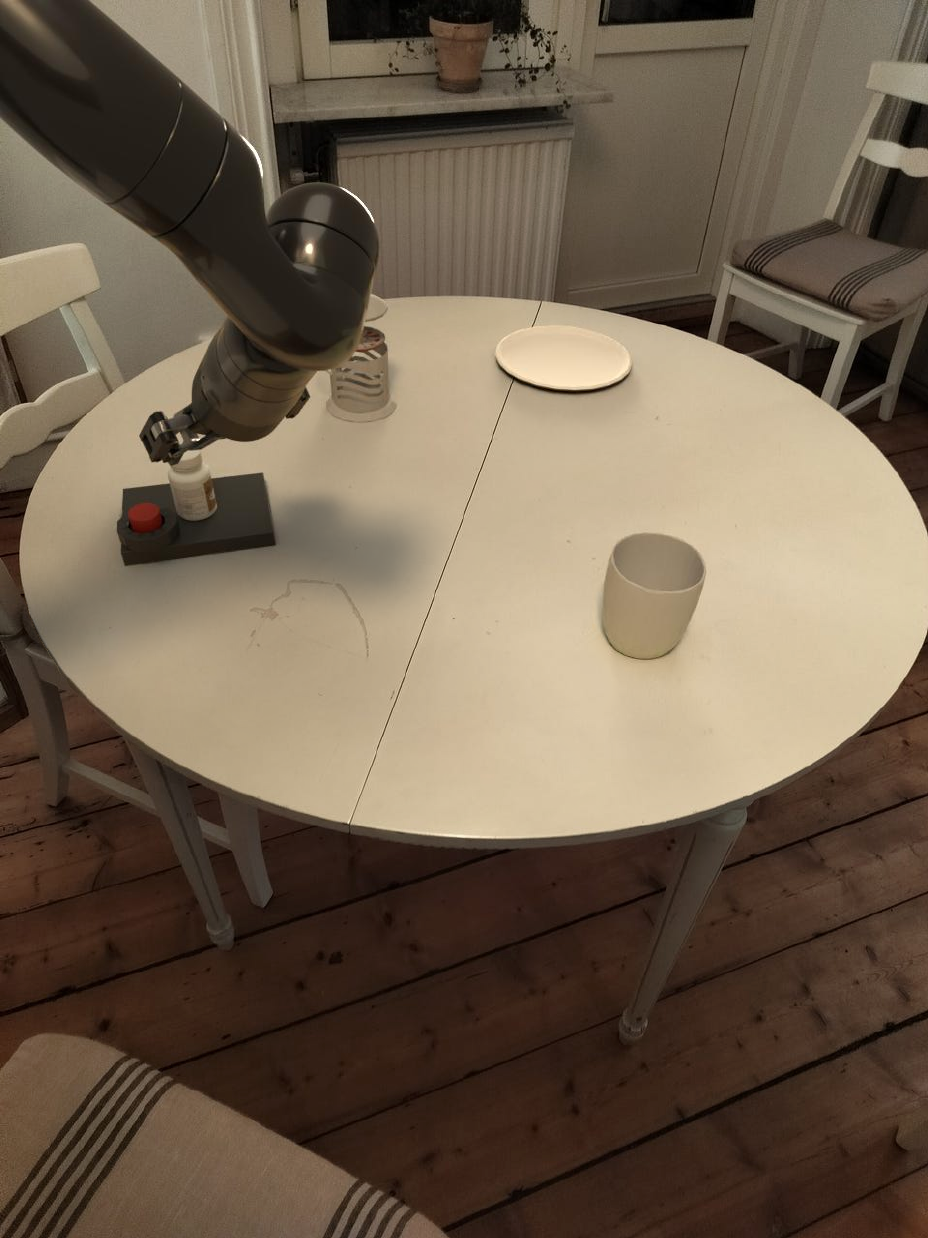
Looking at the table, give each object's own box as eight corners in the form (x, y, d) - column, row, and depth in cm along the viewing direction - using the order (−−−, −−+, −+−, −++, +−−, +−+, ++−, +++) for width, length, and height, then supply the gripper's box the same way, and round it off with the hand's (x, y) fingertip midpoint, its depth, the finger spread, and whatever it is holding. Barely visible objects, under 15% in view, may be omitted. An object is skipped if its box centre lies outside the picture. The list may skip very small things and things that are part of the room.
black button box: (124, 569, 89) (115, 543, 86) (126, 501, 97) (118, 476, 95) (276, 548, 92) (272, 522, 90) (265, 484, 101) (261, 459, 98)
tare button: (131, 535, 88) (127, 522, 86) (131, 518, 90) (127, 504, 89) (163, 531, 88) (159, 518, 87) (162, 514, 91) (159, 501, 89)
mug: (696, 665, 81) (722, 588, 74) (608, 673, 80) (626, 596, 73) (654, 580, 90) (674, 505, 83) (575, 587, 89) (588, 511, 82)
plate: (506, 325, 135) (507, 317, 135) (634, 340, 133) (636, 333, 132) (483, 385, 121) (483, 377, 120) (627, 404, 118) (628, 396, 117)
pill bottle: (222, 515, 93) (210, 456, 88) (183, 526, 91) (168, 466, 86) (210, 495, 96) (198, 436, 90) (172, 505, 94) (157, 445, 89)
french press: (394, 423, 112) (389, 229, 95) (307, 419, 112) (287, 224, 95) (399, 387, 119) (395, 201, 102) (318, 384, 119) (301, 197, 102)
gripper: (310, 312, 68) (262, 384, 82) (140, 356, 61) (120, 426, 75) (349, 398, 68) (294, 454, 83) (185, 451, 62) (156, 502, 76)
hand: (211, 441), depth 79 cm, fingers open, 8 cm apart
